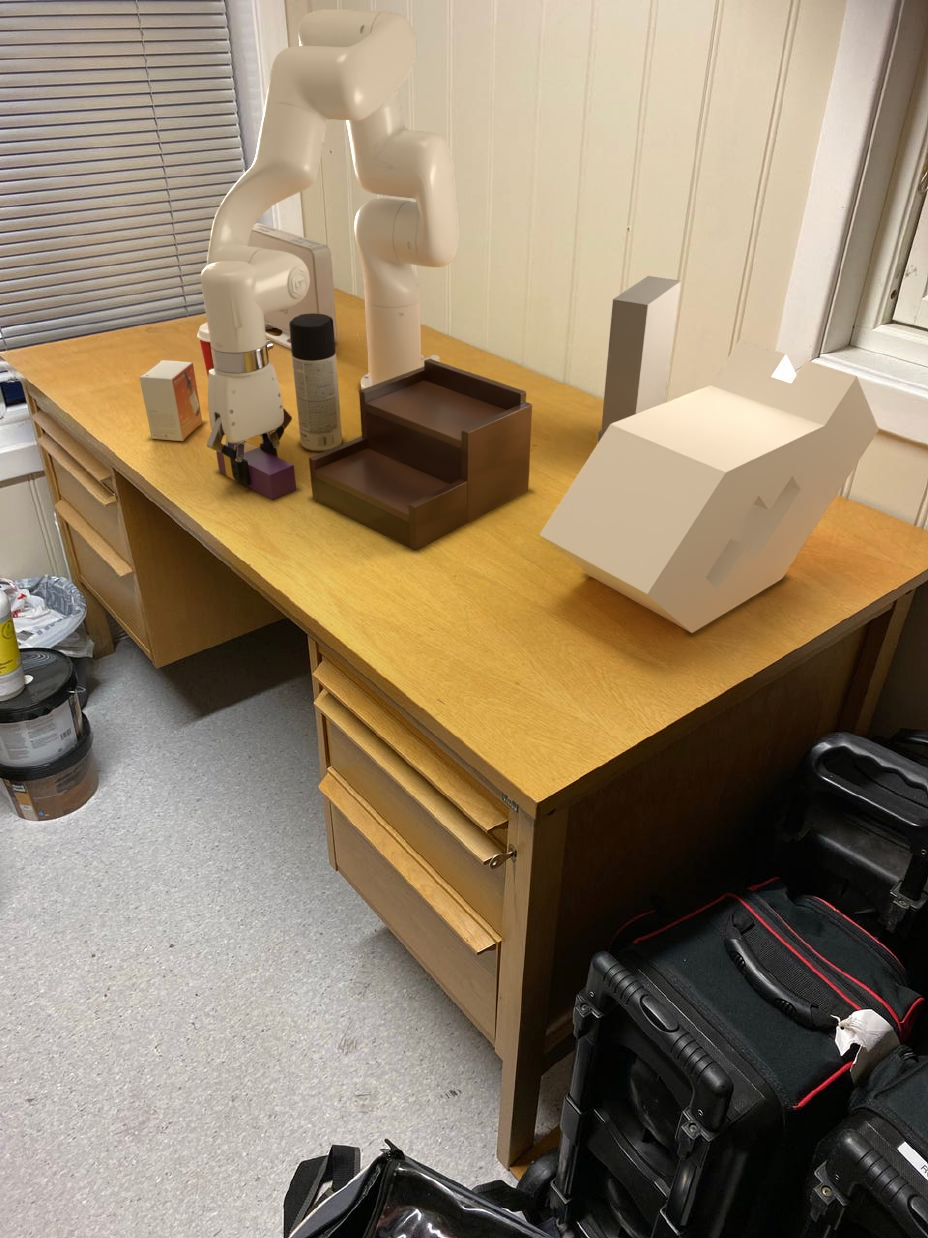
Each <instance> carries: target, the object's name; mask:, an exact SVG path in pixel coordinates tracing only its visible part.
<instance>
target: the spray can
mask: <svg viewBox="0 0 928 1238" xmlns="http://www.w3.org/2000/svg"><path fill="white" fill-rule="evenodd" d="M289 327H290V339H291V342H290V343H291V349H290V350H291V359H292V360H291V361H292V369H293V370H292V371H293V378H294V379H293V380H294V390H295V399H296V409H297V419H298V427H299V428H298V430H299V439H300V443H301V446H302V447H303V449H305V450H307V451H311V452H313V451H314V452H324V451H327V450H329V449H332V448H334V447H336V446H339V445H341V444H342V441H343V432H342V418H341V404H340V392H339V379H338V378H339V375H338V366H337V365H338V364H337V363H338V362H337V351H336V341H335V338H334V326H333V319H332V318H331V317H329V316H327V315H324V314H314V313H311V314H301V315H299V316H297V317H295V318H293V319H292V321H290V323H289Z"/></svg>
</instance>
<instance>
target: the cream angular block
mask: <svg viewBox="0 0 928 1238" xmlns="http://www.w3.org/2000/svg"><path fill="white" fill-rule="evenodd" d="M879 430H880V428H879V427H878V424H877V422H876V419H875V416H874V414H873V412H872V410H871V407H870V405H869V402H868V400H867V397H866V395H865V393H864V390H863V388H862V385H861V383H860V380H859V378H858V376H857V375H855V374H851V373H848V372H845V371H842V370H838V369H836V368H832V367H829V366H826V365H822V364H819V363H816V362H813V361H810V360H806V359H805V361H804V363H803V364H802V365H801V367H800V368H799V370H798V371H797V373H796V371H795V369H794V367H793V365H792V363H791V361H790V359H789V358H788V355H787V354H786V353H783V352H781V351H778V350H774V349H771V348H769V347H764V346H761V345H758V344H755V343H751V342H748V341H746V340H742V339H739V340H738V341H737V343H736V345H735V346H734V348H733V349H732V351H731V352H730V354H729V355H728V357H727V359H726V360H725V362H724V363H723V365H722V366H721V368H720V370H719V371H718V373H717V374H716V375H715V377H714V379H713V380H712V382H711V383H710V384H709V385H707V386H705V387H702V388H700V389H696V390H695V391H691V392H689V393H687V394H684V395H681V396H679V397H677V398H674V399H671V400H668V401H665V403H663V404H661V405H658V406H656V407H653V408H650V409H648V410H645V411H643V412H640V413H638V414H635V415H632V416H630V417H627V418H625V419H622V420H620V421H617V422H614V423H612V424H610V425H609V427H608V429H607V430H606V432H605V433H604V435H603V436H602V438H601V439H600V441H599V443H598V444H596V446H595V447H594V449H593V450H592V452H591V453H590V455H589V457H588V459H587V460H586V461H585V463H584V464H583V466H582V467H581V469H580V470H579V472H578V474H577V475H576V477H575V479H574V480H573V481H572V482H571V485H570V486H569V487H568V489H567V491H566V492H565V494H564V495H563V497H562V499H561V501H560V502H559V504H558V505H557V506H556V508H555V509H554V511H553V513H552V514H551V515H550V517H549V519H548V521H547V522H546V523H545V525H544V527H543V528H542V530H541V531H540V533H539V536H540V537H541V538H542V539H544V540H545V541H546V542H547V543H548V544H550V545H551V546H552V547H553V548H555V549H556V550H557V551H558V552H559V553H561V555H563V556H565V558H567V559H568V560H569V561H571V563H573V564H574V565H575V566H577V567H578V568H579V569H581V570H582V571H583V572H584V573H585V574H586V575H587V576H589V577H591V578H592V579H594V580H596V581H598V582H599V583H601V584H603V585H605V586H607V587H608V588H611V589H612V590H614V591H616V592H618V593H619V594H621V595H623V596H625V597H627V598H628V599H630V600H631V601H633V602H635V603H637V604H639V605H640V606H643V607H644V608H645V609H648V610H650V611H652V612H653V613H654V614H657V615H658V616H660V617H662V618H663V619H666V621H667V620H668V621H669V622H671V623H673V624H675V625H676V626H679V627H680V628H682V629H684V630H685V631H687V632H689V633H691V634H693V633H695V632H696V631H698V630H699V629H702V628H703V627H705V626H706V625H709V624H710V623H712V622H713V621H715V620H716V619H718V618H720V617H722V616H723V615H725V614H727V613H728V612H730V611H731V610H733V609H734V608H736V607H738V606H739V605H741V604H743V603H744V602H746V601H749V599H751V598H753V597H754V596H756V595H758V594H759V593H761V592H763V591H764V590H766V589H767V588H770V587H771V586H773V585H774V584H776V583H778V582H779V581H781V580H782V579H784V577H785V575H786V573H787V572H788V571H789V570H790V567H791V566H792V565H793V563H794V561H795V560H796V558H797V556H798V555H799V553H800V552H801V551H802V549H803V548H804V546H805V544H806V542H808V540H809V538H810V537H811V535H812V533H813V532H814V530H815V529H816V527H817V526H818V524H819V523H820V521H821V520H822V518H823V517H824V516H825V514H826V512H827V511H828V509H829V507H830V506H831V504H832V503H833V501H834V500H835V498H836V497H837V495H838V494H839V492H840V491H841V489H842V487H844V484H845V483H846V481H847V480H848V478H849V477H850V475H851V473H852V472H853V471H854V469H855V467H856V466H857V465H858V463H859V461H860V460H861V458H862V457H863V455H864V454H865V452H866V450H867V449H868V448H869V446H870V444H871V443H872V441H873V440H874V439H875V437H876V436H877V434H878V432H879Z"/></svg>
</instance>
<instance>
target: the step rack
mask: <svg viewBox="0 0 928 1238" xmlns="http://www.w3.org/2000/svg"><path fill="white" fill-rule="evenodd" d="M358 396H359V397H358V398H359V413H360V414H359V415H360V429H361V436H358V437H356V438H353V439H351V440H349V441H347V442H344V443H341V444H340V445H339V446H336V447H334V448H332V449H329V450H327V451H321V452H318V453H317V454H314V455H312V456H310V457H308V465H309V466H308V467H309V474H310V475H309V477H310V484H311V494H312V499H313V500H314V501H316V502H319V504H322V505H325V506H326V507H328V508H330V509H332V510H334V511H336V512H338V513H340V514H342V515H344V516H346V517H348V518H350V519H352V520H354V521H356V522H358V523H360V524H362V525H363V526H365V527H367V528H370V529H372V530H374V531H376V532H378V533H380V534H382V535H384V536H386V537H388V538H390V539H392V540H393V541H395V542H398V543H400V544H402V545H403V546H406V547H408V548H410V549H411V550H414V551H418V550H421V549H422V548H424V547H425V546H426V547H427V546H428V545H429V544H431V543H433V542H435V541H437V540H439V539H440V538H443V537H444V536H447V535H448V534H450V533H452V532H454V531H455V530H457V529H460V528H461V527H464V526H465V525H467V524H469V523H471V522H473V521H475V520H477V519H478V518H481V517H482V516H484V515H486V514H488V513H490V512H491V511H493V510H496V509H497V508H499V507H501V506H503V505H505V504H507V503H509V502H511V501H513V500H514V499H516V498H519V497H520V496H522V495H524V494H526V493H528V492H529V486H530V485H529V484H530V465H531V464H530V463H531V443H532V442H531V441H532V423H533V421H532V419H533V403H531V402H527V391H526V390H523V389H521V388H517V387H514V386H511V385H508V384H507V383H506V384H505V383H502V382H499V381H497V380H494V379H490V378H488V377H485V376H482V375H480V374H476V373H474V372H470V371H467V370H464V369H461V368H459V367H455V366H452V365H449V364H446V363H443V362H441V361H440V362H438V361H435V360H432V359H427V360H424V367H421V368H419V369H416V370H413V371H411V372H408V373H405V374H402V375H400V376H397V377H394V378H392V379H389V380H386V381H384V382H381V383H378V384H375V385H373V386H370V387H367V388H365V389H362V388H361V389H359V390H358Z"/></svg>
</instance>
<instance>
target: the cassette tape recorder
mask: <svg viewBox="0 0 928 1238" xmlns="http://www.w3.org/2000/svg"><path fill="white" fill-rule="evenodd" d="M681 285H682V280H678V279H671V278H665V277H658V276H654V275H653V276H652V275H647V276H646V277H644V278H643V279H641V280H639V281H638V282H636V283H635V284H634V285H632V286H630V287H629V288H628V289H626V290H624V291H623V292H622V293H620V294H619V295H617V296H616V297H614V298H613V299H612V305H611V306H612V307H611V317H610V328H609V338H608V339H609V340H608V350H607V361H606V371H605V384H604V393H603V407H602V415H601V416H602V417H601V426H600V428H601V429H600V430H598V433H597V444H598V443H599V441H600V439H601V438H602V436H603V435H604V433H605V432H606V430H607V429H608V427H609V425H610V424H612V423H614V422H617V421H620V420H622V419H625V418H627V417H630V416H632V415H635V414H638V413H640V412H643V411H645V410H648V409H650V408H653V407H656V406H658V405H661V404H663V403H666V402H667V393H668V384H669V378H670V370H671V364H672V363H671V361H672V355H673V354H672V353H673V347H674V339H675V332H676V331H675V330H676V323H677V315H678V307H679V300H680V292H681ZM597 444H596V445H597Z"/></svg>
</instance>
